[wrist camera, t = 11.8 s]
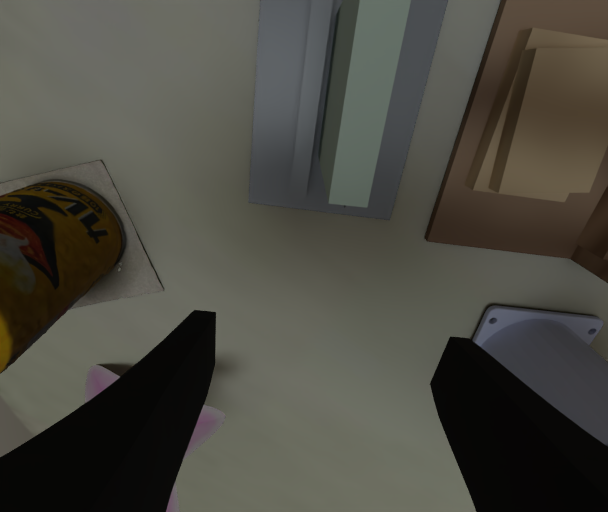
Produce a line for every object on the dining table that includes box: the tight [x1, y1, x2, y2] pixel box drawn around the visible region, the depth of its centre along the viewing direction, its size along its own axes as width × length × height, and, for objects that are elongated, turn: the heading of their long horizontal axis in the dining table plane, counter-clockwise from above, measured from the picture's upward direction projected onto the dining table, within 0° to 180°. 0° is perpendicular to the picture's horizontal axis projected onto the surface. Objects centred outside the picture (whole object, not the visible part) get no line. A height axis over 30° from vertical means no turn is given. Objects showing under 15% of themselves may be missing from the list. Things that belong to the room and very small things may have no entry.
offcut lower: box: [465, 28, 608, 202], centre depth 16 cm, size 7×5×1 cm
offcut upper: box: [488, 47, 608, 193], centre depth 15 cm, size 6×4×1 cm
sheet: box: [318, 0, 411, 208], centre depth 12 cm, size 6×1×8 cm, turn 173°
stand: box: [249, 0, 448, 220], centre depth 15 cm, size 12×8×2 cm, turn 172°
